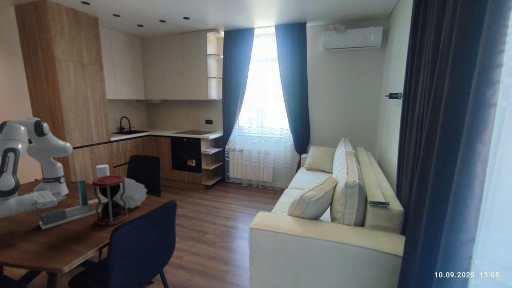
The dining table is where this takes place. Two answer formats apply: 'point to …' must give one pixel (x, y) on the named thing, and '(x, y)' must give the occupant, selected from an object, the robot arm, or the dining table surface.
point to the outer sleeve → (53, 216)
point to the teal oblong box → (84, 203)
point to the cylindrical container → (101, 171)
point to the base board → (69, 219)
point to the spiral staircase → (131, 193)
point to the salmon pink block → (94, 205)
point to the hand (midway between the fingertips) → (63, 194)
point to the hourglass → (110, 200)
